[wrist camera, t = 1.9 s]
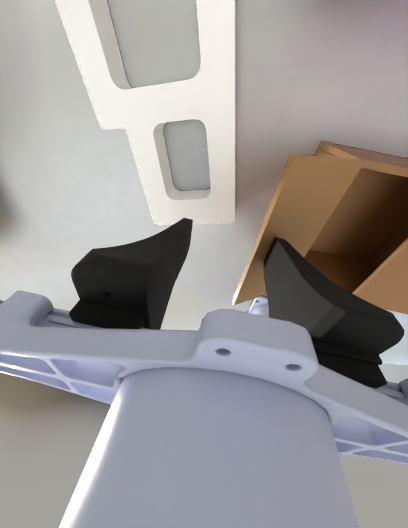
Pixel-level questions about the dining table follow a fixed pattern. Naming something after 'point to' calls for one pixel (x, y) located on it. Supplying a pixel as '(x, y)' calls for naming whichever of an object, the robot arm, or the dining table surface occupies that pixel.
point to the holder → (165, 106)
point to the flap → (297, 212)
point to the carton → (368, 230)
